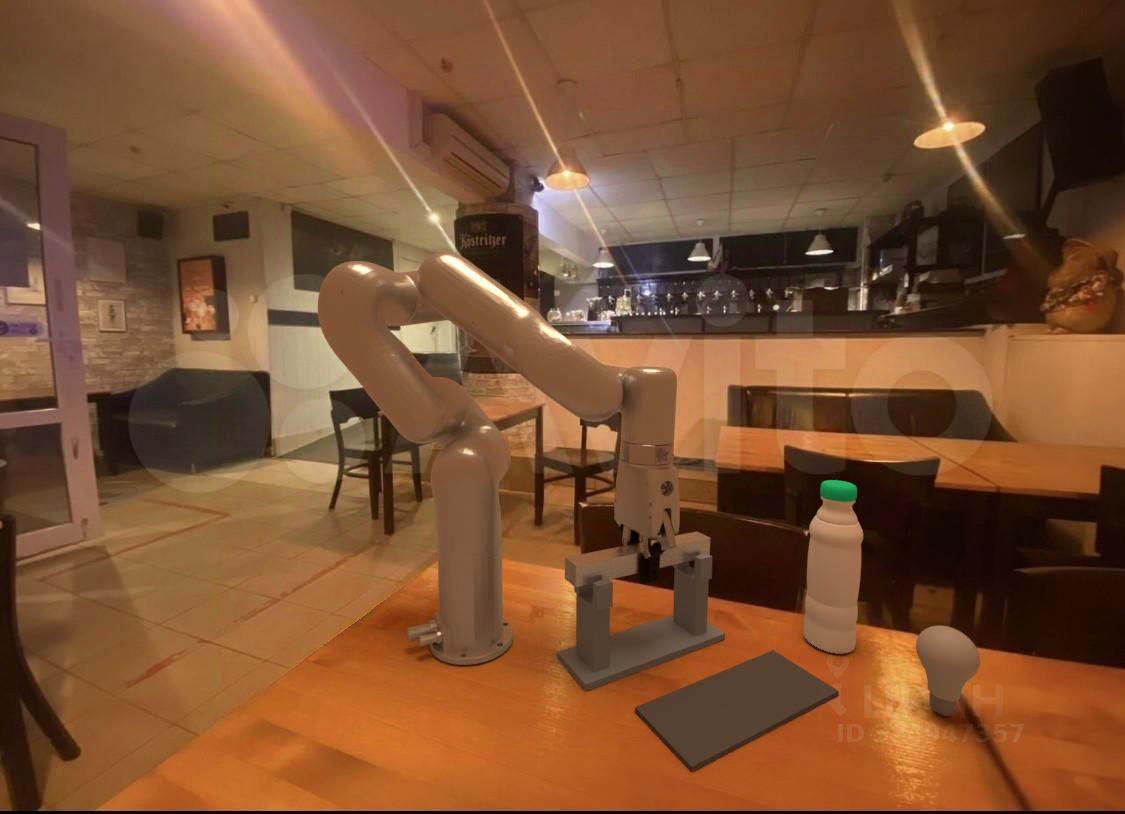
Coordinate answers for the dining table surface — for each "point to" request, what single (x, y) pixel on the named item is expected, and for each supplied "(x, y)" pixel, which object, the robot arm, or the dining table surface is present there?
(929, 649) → the lightbulb
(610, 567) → the rail
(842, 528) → the water bottle
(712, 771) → the dining table surface
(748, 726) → the mat
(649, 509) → the robot arm
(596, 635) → the rack
